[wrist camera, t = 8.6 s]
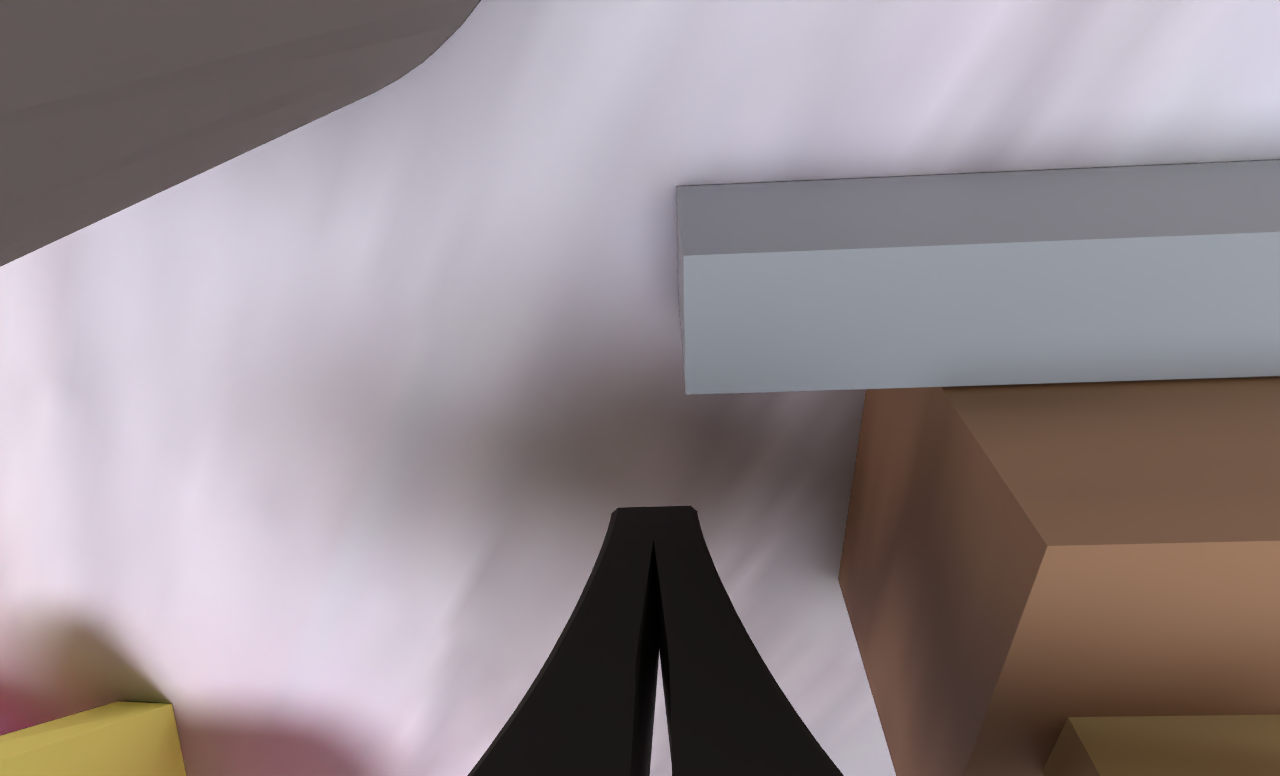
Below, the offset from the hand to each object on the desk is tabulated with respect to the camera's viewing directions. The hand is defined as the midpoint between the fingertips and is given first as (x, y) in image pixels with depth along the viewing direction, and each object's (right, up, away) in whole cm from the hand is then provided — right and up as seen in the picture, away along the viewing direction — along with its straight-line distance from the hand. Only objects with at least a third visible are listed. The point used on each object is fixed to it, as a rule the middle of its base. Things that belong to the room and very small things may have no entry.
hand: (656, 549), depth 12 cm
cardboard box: (+7, +2, +2) cm, 7 cm away
